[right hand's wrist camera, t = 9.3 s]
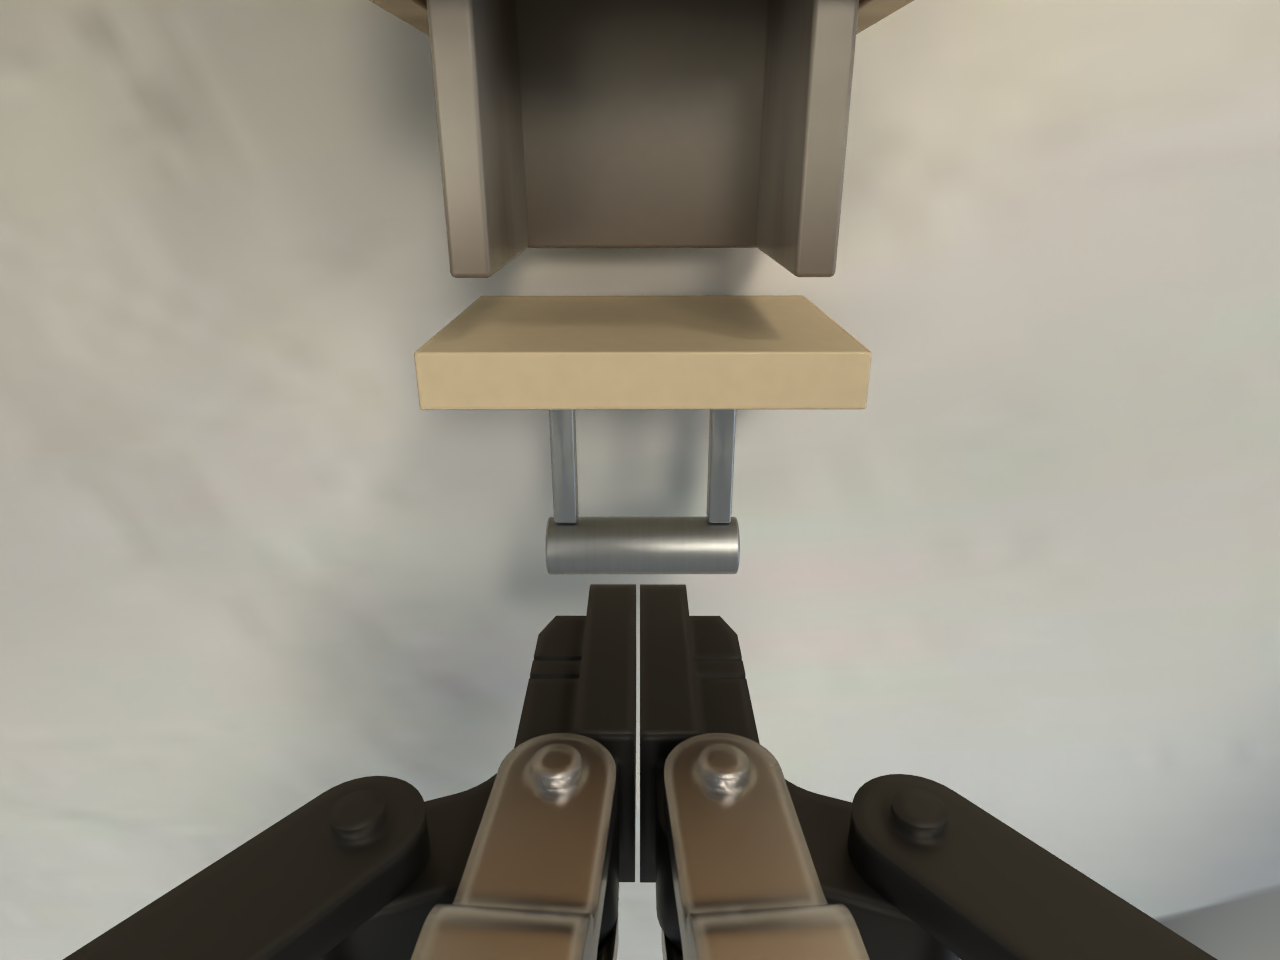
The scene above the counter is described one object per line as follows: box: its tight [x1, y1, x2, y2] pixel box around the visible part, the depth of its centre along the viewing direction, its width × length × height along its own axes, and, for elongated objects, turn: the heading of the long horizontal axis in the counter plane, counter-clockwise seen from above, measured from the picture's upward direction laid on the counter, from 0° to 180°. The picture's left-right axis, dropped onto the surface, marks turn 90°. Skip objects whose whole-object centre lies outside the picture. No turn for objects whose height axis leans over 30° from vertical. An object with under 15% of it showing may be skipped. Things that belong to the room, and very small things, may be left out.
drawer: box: [414, 0, 872, 574], centre depth 17 cm, size 25×9×7 cm, turn 0°
